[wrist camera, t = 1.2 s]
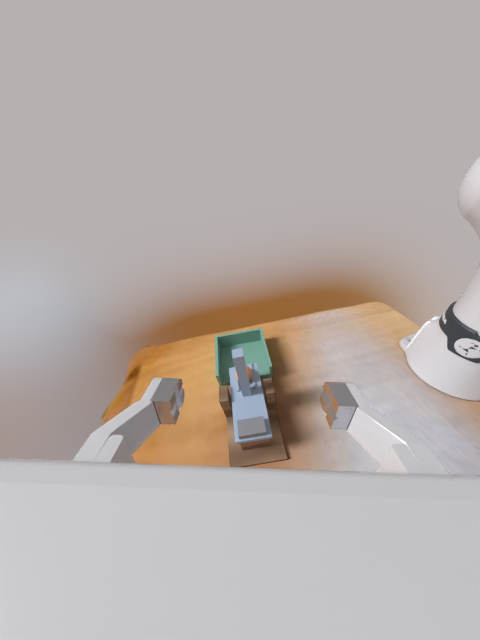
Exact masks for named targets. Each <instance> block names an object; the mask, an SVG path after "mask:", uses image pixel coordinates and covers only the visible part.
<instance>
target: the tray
mask: <svg viewBox="0 0 480 640" xmlns="http://www.w3.org/2000/svg"><path fill="white" fill-rule="evenodd" d="M238 348H242V350H243V354H244V359H245V364H246V365H249V363H251V364H255V363H257V366H258V371H259V376H260V379H266V378H273V371H272V363H271V360H270V356H269V353H268V349H267V346H266V342H265V339H264V335H263V331H262V328H257V329H251V330H246V331H240V332H235V333H229V334H223V335H218V336H215V356H216V378H217V380H218V382H219V385H220V387H221V386H226V385H230V374H229V368H232V367H234V366H235V365H234V362H233V358H232V350H233V349H238Z"/></svg>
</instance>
